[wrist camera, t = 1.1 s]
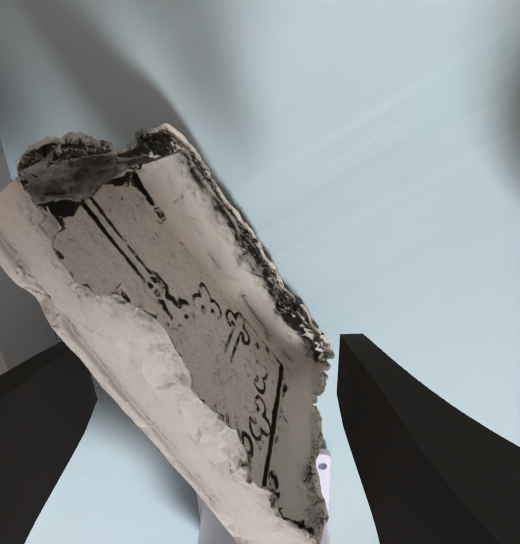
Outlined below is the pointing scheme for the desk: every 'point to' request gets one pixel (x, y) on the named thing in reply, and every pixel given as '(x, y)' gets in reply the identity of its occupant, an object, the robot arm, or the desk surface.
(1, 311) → the box
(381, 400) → the robot arm
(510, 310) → the desk surface
